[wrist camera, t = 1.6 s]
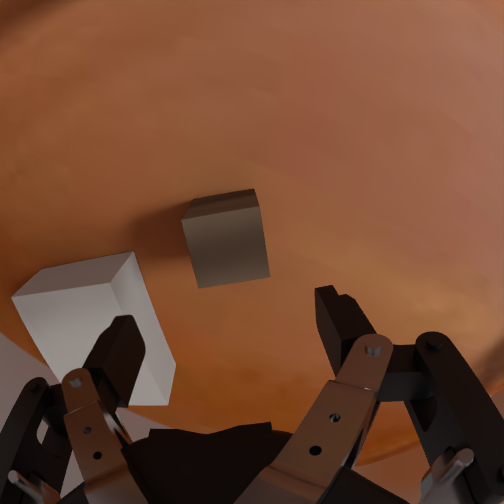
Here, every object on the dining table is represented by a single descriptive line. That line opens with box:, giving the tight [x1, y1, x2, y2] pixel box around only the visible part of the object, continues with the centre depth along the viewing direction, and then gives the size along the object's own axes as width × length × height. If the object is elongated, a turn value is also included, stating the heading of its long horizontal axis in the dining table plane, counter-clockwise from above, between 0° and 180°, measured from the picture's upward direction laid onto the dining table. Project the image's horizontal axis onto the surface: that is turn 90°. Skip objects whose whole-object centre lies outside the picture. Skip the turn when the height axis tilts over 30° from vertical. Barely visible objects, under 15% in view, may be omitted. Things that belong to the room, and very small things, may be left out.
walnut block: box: [181, 189, 270, 288], centre depth 22 cm, size 5×5×6 cm
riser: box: [11, 251, 176, 405], centre depth 25 cm, size 14×12×6 cm
